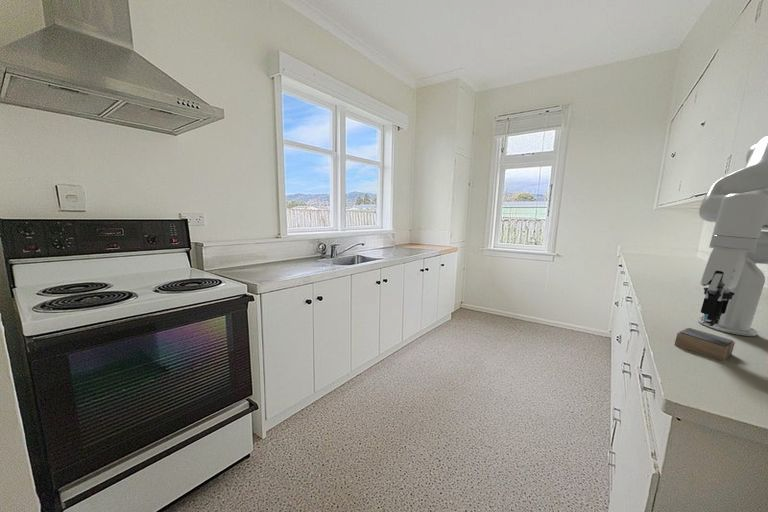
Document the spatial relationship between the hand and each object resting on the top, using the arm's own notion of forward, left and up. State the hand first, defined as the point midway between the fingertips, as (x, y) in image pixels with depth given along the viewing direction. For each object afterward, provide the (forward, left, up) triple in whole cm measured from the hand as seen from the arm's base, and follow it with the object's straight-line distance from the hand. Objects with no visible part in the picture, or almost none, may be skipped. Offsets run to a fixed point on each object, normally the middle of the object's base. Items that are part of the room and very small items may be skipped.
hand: (712, 312), depth 76 cm
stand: (0, 0, -10) cm, 10 cm away
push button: (0, 0, -3) cm, 3 cm away
